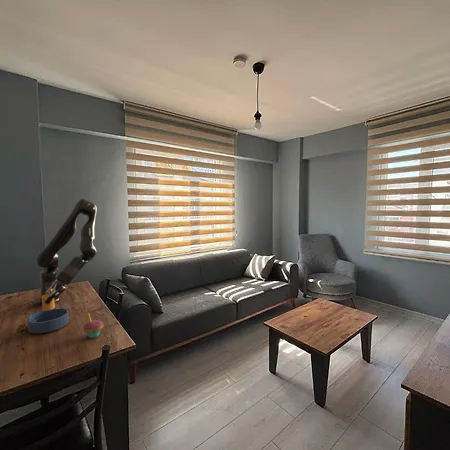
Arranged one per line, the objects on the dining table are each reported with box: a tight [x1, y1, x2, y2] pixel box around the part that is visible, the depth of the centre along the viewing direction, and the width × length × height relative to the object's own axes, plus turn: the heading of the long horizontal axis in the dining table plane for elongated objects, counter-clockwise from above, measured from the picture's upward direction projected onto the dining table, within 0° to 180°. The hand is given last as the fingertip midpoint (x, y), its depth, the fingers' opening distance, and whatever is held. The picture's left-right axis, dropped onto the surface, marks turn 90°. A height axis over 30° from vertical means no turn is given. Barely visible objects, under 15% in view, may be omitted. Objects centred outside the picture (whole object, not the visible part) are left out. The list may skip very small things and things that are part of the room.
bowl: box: [26, 307, 70, 334], centre depth 130 cm, size 18×18×6 cm
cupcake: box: [82, 312, 104, 339], centre depth 120 cm, size 9×8×12 cm
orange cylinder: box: [41, 294, 56, 311], centre depth 129 cm, size 5×5×8 cm
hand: (44, 302), depth 127 cm, fingers closed on orange cylinder, 5 cm apart
